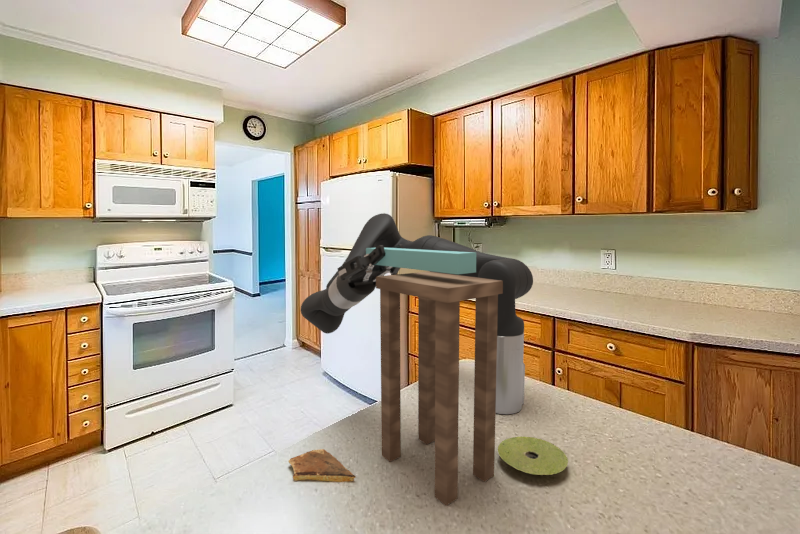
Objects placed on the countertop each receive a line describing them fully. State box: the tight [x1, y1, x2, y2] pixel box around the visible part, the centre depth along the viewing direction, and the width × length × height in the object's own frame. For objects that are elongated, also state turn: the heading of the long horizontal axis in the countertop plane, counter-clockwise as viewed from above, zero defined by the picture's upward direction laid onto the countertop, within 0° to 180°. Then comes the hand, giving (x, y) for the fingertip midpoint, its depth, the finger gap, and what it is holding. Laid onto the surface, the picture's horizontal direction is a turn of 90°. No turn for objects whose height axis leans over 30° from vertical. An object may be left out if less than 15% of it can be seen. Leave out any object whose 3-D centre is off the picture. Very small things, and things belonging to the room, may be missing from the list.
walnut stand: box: [375, 271, 503, 507], centre depth 64 cm, size 12×17×32 cm
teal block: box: [366, 248, 476, 274], centre depth 67 cm, size 4×24×3 cm, turn 38°
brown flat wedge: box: [288, 448, 357, 483], centre depth 63 cm, size 11×8×2 cm
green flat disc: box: [497, 436, 569, 476], centre depth 66 cm, size 11×11×2 cm
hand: (392, 249), depth 71 cm, fingers closed on teal block, 4 cm apart
